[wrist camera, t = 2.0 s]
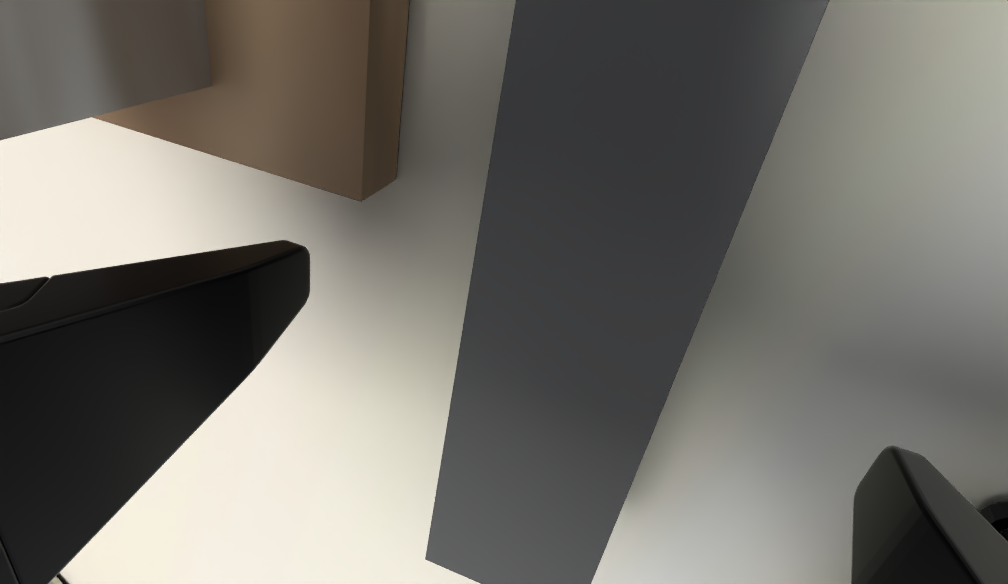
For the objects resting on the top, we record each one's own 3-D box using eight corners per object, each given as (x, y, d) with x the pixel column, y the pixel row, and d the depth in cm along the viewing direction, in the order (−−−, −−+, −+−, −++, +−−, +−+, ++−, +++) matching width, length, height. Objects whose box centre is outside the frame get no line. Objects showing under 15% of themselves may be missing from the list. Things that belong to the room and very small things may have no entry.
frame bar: (852, -146, 9) (912, -201, 6) (609, 488, 16) (574, 623, 13) (622, -184, 10) (556, -252, 6) (487, 441, 17) (424, 559, 14)
